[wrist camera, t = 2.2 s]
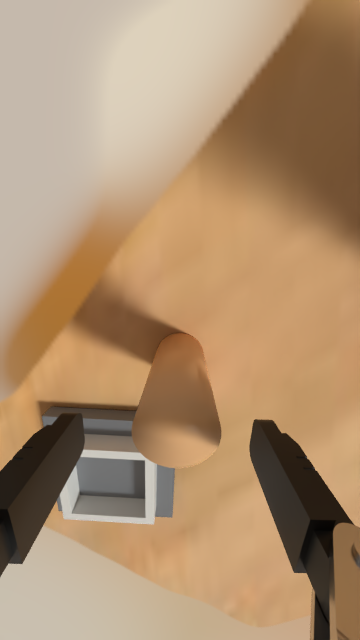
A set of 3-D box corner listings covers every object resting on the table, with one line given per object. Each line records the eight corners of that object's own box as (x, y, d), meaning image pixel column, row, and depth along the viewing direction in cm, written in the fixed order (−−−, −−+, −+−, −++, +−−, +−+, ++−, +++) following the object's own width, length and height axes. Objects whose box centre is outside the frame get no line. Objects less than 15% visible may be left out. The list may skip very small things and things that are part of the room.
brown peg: (204, 334, 15) (225, 397, 8) (201, 376, 16) (217, 470, 9) (157, 331, 15) (130, 393, 8) (156, 374, 17) (132, 466, 9)
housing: (177, 413, 18) (176, 438, 15) (172, 503, 21) (171, 537, 18) (51, 406, 18) (28, 430, 15) (65, 497, 21) (48, 530, 18)
